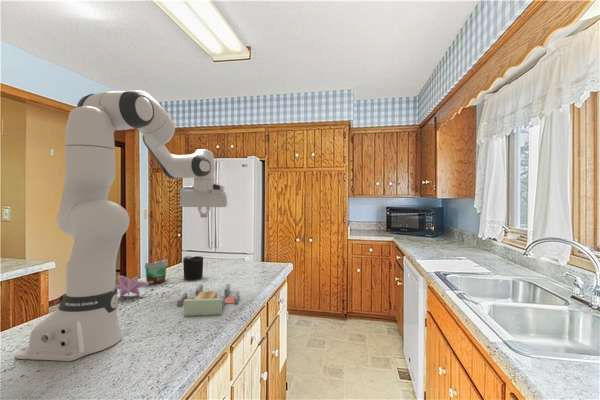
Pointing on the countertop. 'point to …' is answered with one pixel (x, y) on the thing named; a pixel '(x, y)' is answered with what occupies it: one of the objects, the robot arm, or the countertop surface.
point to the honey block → (207, 295)
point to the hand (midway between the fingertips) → (203, 217)
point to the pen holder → (193, 268)
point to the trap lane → (206, 303)
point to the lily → (129, 285)
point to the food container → (156, 271)
